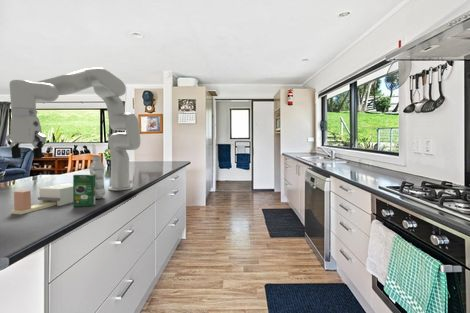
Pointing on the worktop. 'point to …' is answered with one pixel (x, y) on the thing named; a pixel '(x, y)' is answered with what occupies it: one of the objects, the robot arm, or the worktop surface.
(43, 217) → the worktop surface
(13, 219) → the worktop surface
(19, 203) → the block on flat board
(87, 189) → the coffee box
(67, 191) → the dispenser
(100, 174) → the plastic bottle
